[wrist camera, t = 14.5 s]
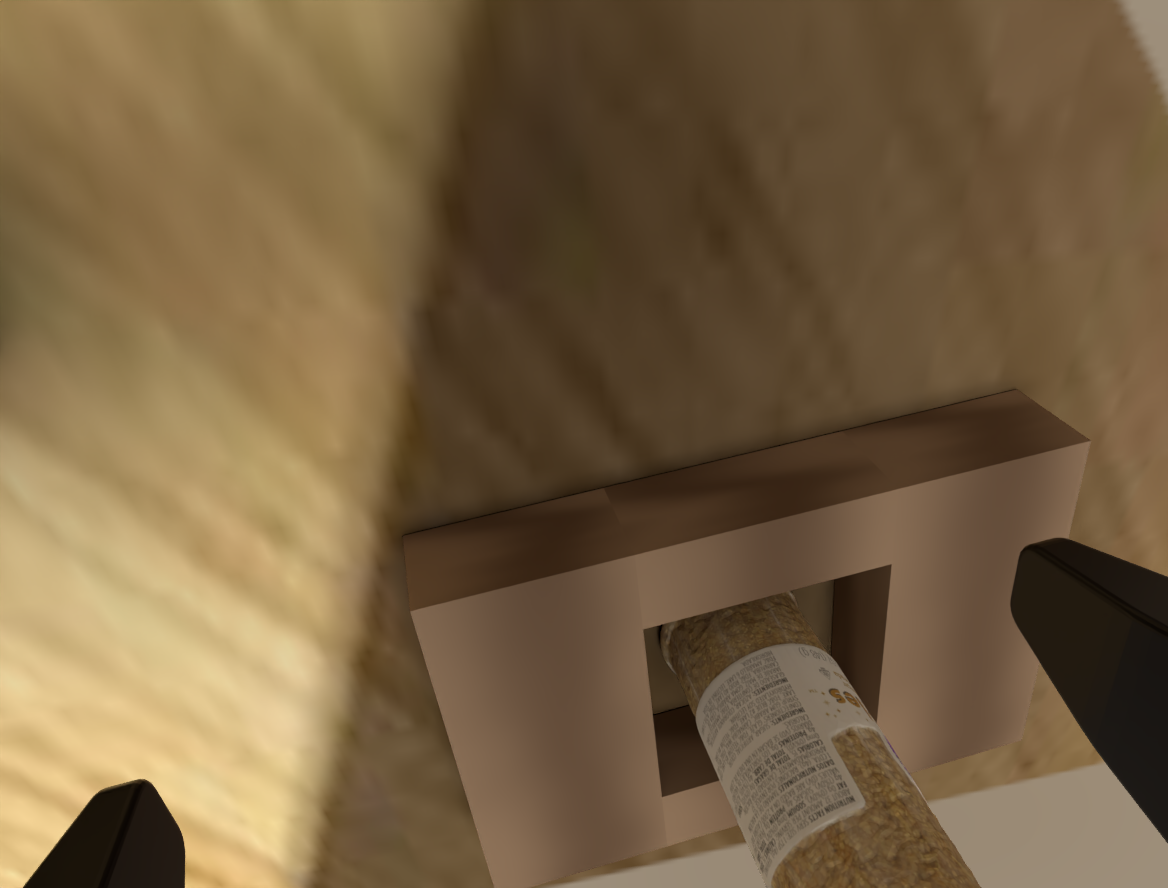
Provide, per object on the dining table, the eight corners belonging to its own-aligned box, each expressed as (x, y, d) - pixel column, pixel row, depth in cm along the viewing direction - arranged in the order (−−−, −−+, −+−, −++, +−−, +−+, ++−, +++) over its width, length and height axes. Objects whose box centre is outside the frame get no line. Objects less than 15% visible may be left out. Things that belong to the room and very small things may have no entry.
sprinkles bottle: (814, 616, 28) (1126, 1073, 17) (699, 694, 29) (929, 1185, 18) (749, 535, 26) (1064, 1008, 15) (625, 623, 26) (838, 1140, 15)
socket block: (483, 813, 29) (497, 896, 27) (402, 535, 23) (409, 611, 20) (968, 675, 32) (1021, 740, 29) (1017, 389, 25) (1090, 440, 23)
